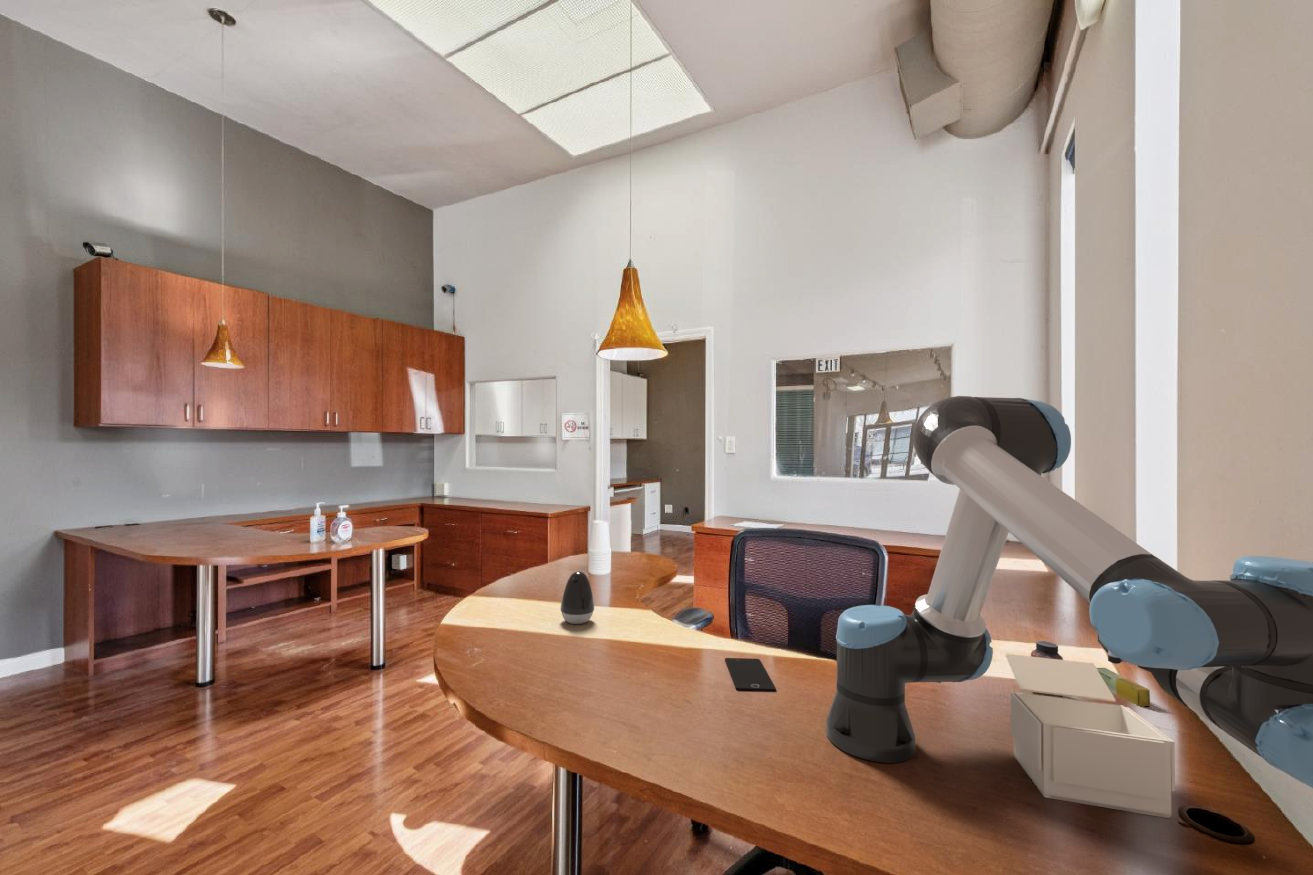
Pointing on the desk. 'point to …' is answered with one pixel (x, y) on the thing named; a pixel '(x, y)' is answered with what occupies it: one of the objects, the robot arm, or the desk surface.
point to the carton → (1093, 753)
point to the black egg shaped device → (577, 599)
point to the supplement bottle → (1046, 651)
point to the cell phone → (749, 675)
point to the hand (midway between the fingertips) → (1099, 618)
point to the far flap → (1059, 677)
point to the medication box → (1125, 688)
